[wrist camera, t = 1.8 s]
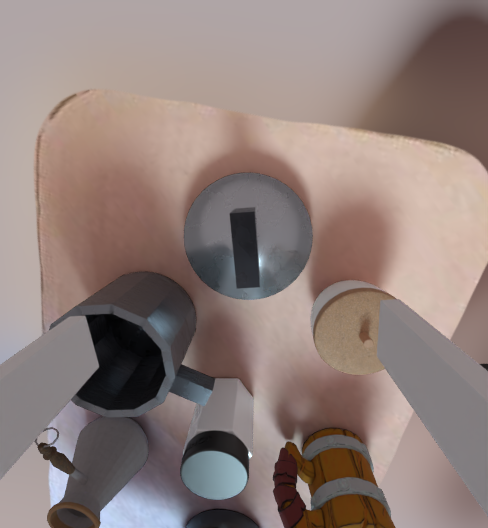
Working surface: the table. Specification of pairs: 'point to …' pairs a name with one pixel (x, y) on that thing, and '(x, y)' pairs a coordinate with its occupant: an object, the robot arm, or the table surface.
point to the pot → (139, 346)
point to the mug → (330, 484)
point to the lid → (248, 236)
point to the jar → (220, 442)
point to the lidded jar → (348, 326)
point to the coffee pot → (96, 469)
